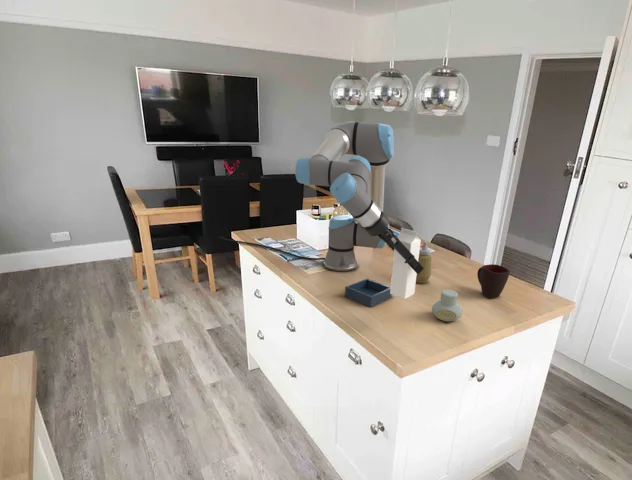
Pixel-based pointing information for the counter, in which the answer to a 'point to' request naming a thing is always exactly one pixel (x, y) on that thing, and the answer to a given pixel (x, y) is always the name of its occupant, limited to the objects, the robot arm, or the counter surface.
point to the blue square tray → (368, 292)
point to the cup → (492, 279)
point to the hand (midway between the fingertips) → (414, 266)
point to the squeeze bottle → (424, 264)
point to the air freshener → (447, 306)
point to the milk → (405, 266)
